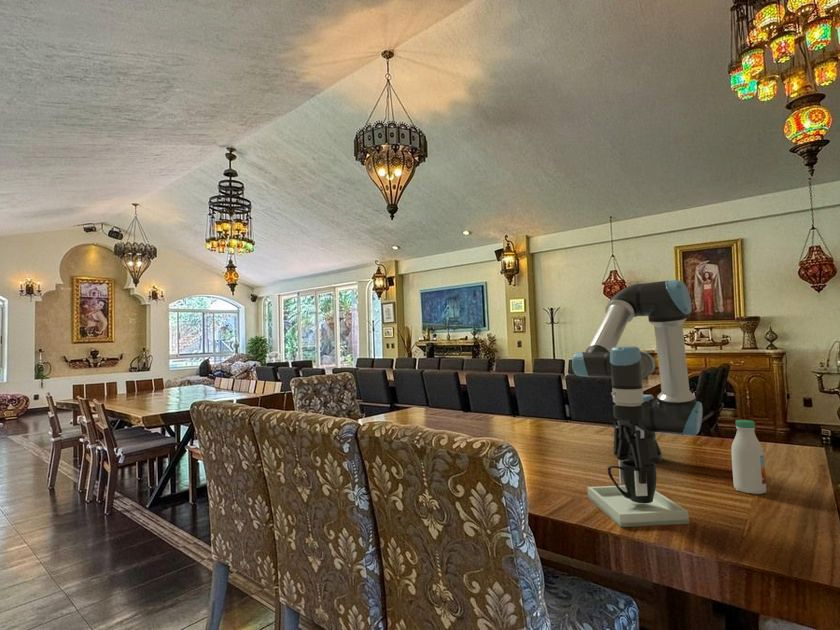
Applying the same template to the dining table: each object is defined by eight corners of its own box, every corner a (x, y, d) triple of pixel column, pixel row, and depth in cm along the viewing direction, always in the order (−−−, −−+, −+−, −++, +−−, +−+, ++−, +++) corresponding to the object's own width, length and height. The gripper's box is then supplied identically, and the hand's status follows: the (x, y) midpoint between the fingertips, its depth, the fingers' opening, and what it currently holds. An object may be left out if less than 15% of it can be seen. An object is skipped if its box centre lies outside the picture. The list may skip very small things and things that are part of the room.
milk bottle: (757, 496, 125) (752, 424, 126) (728, 488, 131) (723, 420, 132) (772, 491, 128) (767, 421, 129) (742, 484, 135) (737, 417, 136)
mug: (606, 494, 125) (604, 459, 125) (653, 495, 122) (650, 459, 123) (613, 504, 116) (610, 467, 117) (663, 505, 114) (659, 467, 115)
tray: (646, 494, 129) (645, 484, 129) (689, 523, 109) (688, 511, 109) (588, 497, 129) (587, 487, 129) (620, 527, 109) (619, 514, 109)
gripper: (598, 399, 131) (602, 477, 130) (633, 410, 110) (639, 504, 109) (623, 398, 131) (628, 476, 130) (663, 409, 110) (669, 503, 109)
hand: (633, 489), depth 119 cm, fingers closed on mug, 8 cm apart
